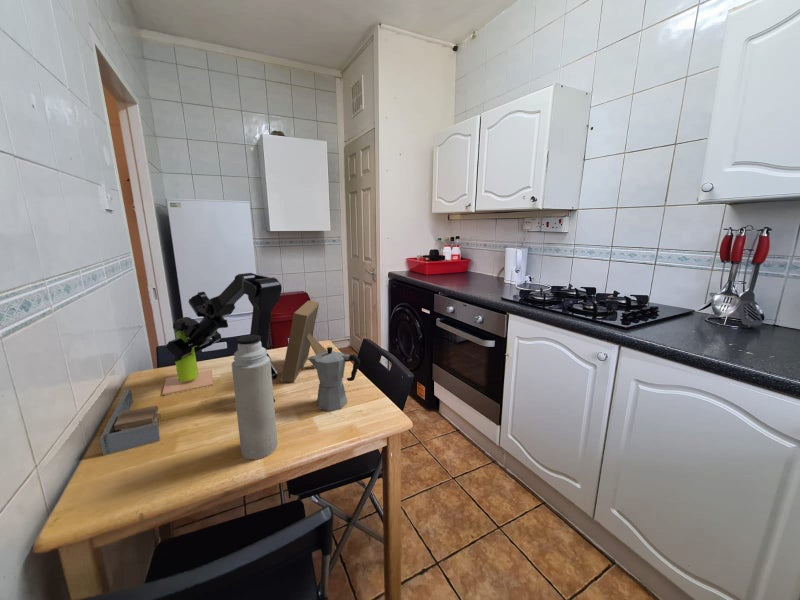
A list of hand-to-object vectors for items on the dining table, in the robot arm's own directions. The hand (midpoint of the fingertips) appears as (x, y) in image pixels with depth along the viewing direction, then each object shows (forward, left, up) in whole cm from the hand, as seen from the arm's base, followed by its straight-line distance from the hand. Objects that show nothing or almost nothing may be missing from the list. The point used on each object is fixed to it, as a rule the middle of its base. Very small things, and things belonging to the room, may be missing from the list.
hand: (182, 357), depth 110 cm
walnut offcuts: (-27, +9, -9) cm, 30 cm away
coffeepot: (-41, -40, -9) cm, 58 cm away
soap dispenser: (-1, -1, -8) cm, 8 cm away
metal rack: (-22, +9, -9) cm, 25 cm away
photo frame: (-12, -40, -9) cm, 43 cm away
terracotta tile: (-1, -1, -9) cm, 9 cm away
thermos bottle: (-52, -17, -9) cm, 55 cm away
